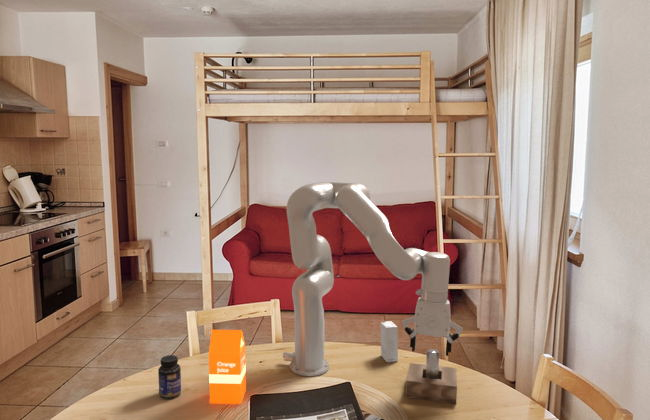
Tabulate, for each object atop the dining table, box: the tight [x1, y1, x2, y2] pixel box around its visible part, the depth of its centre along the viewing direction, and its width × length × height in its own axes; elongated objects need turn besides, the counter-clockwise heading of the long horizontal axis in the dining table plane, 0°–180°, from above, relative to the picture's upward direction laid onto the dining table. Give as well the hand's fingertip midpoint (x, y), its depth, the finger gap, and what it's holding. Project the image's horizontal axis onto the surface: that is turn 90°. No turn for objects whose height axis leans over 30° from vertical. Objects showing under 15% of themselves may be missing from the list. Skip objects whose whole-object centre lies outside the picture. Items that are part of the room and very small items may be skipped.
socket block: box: [405, 362, 458, 405], centre depth 145 cm, size 14×12×5 cm
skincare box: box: [380, 320, 399, 363], centre depth 166 cm, size 6×4×12 cm
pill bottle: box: [157, 354, 182, 400], centre depth 141 cm, size 6×6×11 cm
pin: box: [425, 348, 440, 379], centre depth 144 cm, size 4×4×11 cm
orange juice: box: [208, 329, 247, 405], centre depth 139 cm, size 8×9×20 cm
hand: (430, 351), depth 144 cm, fingers open, 9 cm apart
